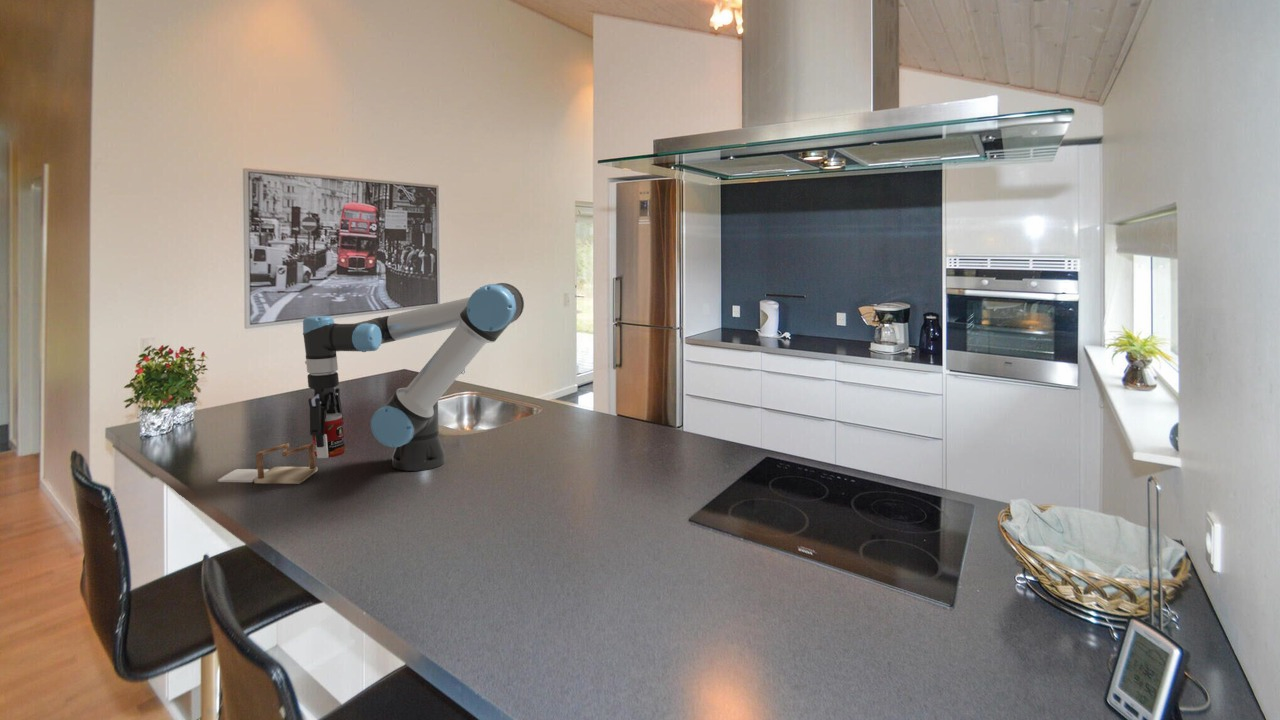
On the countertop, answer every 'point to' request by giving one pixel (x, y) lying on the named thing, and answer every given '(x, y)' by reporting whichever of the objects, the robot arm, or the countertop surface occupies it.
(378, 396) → the countertop surface
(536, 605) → the countertop surface
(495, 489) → the countertop surface
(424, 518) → the countertop surface
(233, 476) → the coaster
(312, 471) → the wooden zigzag stand
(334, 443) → the canned food
